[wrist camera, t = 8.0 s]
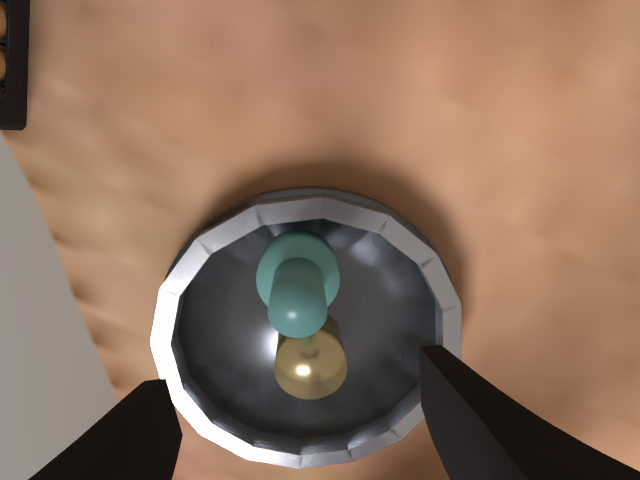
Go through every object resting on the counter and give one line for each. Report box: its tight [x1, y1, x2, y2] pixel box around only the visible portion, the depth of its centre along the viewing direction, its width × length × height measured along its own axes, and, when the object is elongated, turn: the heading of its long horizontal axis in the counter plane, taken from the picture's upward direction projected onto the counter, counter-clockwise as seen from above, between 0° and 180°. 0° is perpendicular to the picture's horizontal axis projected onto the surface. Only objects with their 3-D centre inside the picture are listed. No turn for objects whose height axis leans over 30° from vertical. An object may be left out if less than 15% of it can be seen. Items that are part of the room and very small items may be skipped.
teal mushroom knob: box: [256, 229, 340, 338], centre depth 17 cm, size 4×4×5 cm
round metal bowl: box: [150, 186, 462, 469], centre depth 20 cm, size 17×17×4 cm
